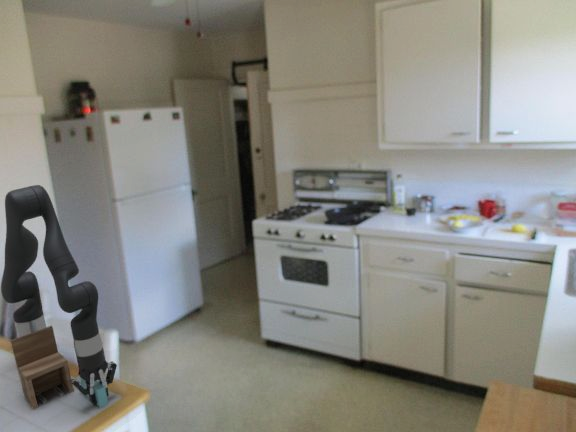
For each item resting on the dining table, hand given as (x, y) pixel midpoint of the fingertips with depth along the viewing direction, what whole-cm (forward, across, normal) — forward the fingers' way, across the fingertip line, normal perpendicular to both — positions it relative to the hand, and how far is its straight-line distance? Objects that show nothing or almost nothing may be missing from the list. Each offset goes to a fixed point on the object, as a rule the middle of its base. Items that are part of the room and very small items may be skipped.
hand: (99, 400), depth 147 cm
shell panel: (+1, 0, -4) cm, 4 cm away
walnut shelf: (+1, +9, -18) cm, 20 cm away
